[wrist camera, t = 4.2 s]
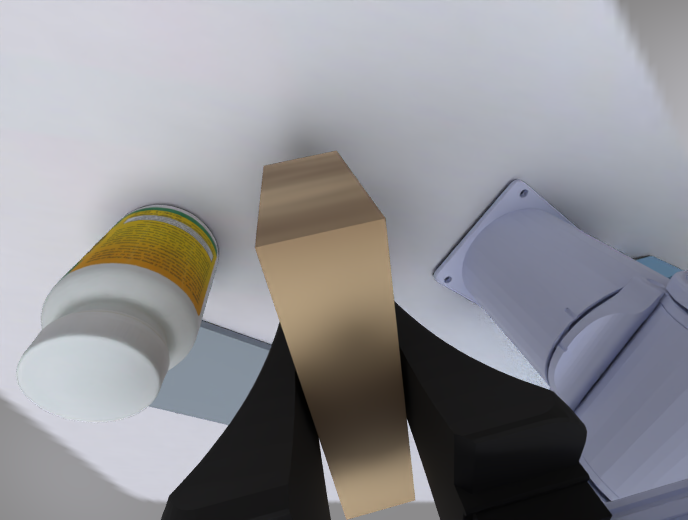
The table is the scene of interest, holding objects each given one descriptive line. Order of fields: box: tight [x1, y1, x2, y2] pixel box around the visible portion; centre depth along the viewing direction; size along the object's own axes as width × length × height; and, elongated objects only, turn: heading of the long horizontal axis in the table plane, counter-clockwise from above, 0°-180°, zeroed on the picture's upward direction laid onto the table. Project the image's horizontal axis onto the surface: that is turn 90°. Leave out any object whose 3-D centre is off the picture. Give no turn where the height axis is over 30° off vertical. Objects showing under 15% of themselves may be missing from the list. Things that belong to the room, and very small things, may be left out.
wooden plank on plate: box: [255, 151, 415, 519], centre depth 12 cm, size 11×2×6 cm, turn 9°
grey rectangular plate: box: [149, 321, 272, 425], centre depth 24 cm, size 12×8×1 cm, turn 55°
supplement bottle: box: [16, 205, 218, 423], centre depth 15 cm, size 5×5×10 cm
